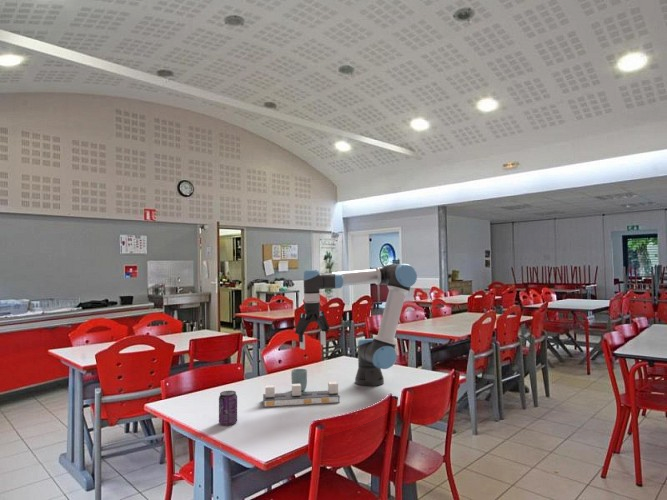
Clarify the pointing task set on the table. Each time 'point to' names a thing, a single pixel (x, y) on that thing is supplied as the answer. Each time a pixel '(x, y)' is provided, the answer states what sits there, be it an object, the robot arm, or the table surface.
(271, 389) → the slider
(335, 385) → the slider
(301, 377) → the cup
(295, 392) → the slider
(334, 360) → the table surface
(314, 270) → the robot arm
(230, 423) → the beverage can
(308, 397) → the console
